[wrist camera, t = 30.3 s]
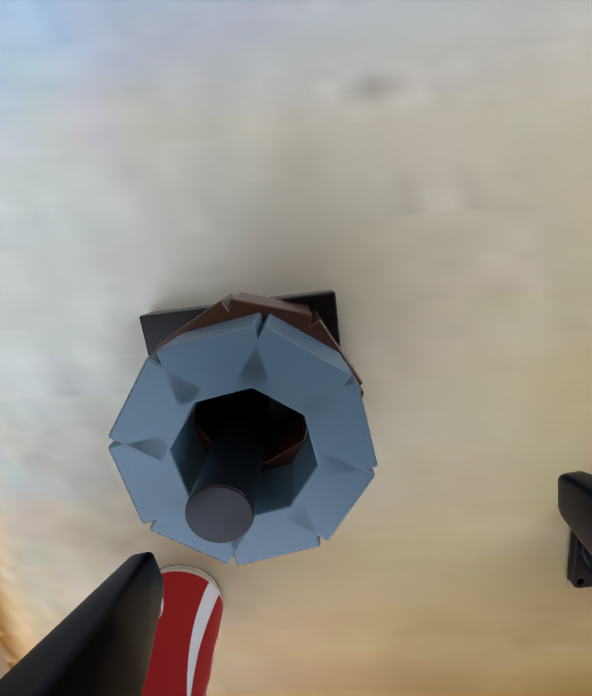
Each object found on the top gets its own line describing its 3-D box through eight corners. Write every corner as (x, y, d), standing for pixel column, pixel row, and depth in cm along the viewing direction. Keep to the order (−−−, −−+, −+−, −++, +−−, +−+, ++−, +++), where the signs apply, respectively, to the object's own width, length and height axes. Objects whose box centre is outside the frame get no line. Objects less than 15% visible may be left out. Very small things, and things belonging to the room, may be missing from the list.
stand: (347, 453, 19) (400, 627, 10) (186, 472, 19) (94, 662, 10) (332, 289, 16) (382, 323, 8) (149, 312, 17) (-13, 373, 8)
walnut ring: (326, 476, 18) (332, 512, 15) (160, 450, 17) (138, 482, 15) (366, 316, 16) (381, 327, 13) (179, 279, 15) (156, 283, 13)
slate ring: (188, 529, 15) (168, 582, 13) (114, 351, 13) (72, 372, 11) (375, 484, 15) (392, 530, 12) (329, 293, 13) (339, 301, 10)
